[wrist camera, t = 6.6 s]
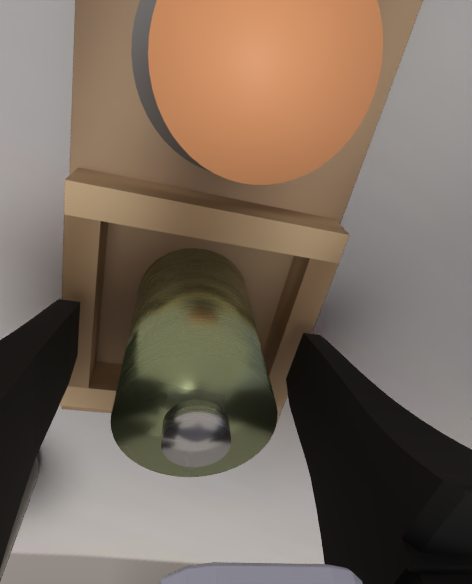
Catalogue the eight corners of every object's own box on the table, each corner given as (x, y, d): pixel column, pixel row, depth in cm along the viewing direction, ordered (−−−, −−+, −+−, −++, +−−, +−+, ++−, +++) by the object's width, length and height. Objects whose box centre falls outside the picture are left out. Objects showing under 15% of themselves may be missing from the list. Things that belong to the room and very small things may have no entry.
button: (369, -18, 9) (423, -42, 7) (308, 176, 11) (335, 203, 9) (173, -83, 8) (167, -134, 6) (146, 141, 10) (135, 160, 8)
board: (422, -50, 11) (483, -80, 9) (260, 407, 20) (270, 453, 17) (93, -170, 10) (62, -245, 7) (69, 388, 18) (51, 437, 16)
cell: (260, 261, 14) (308, 392, 9) (230, 348, 16) (252, 503, 10) (149, 236, 13) (120, 364, 8) (130, 331, 15) (95, 491, 10)
